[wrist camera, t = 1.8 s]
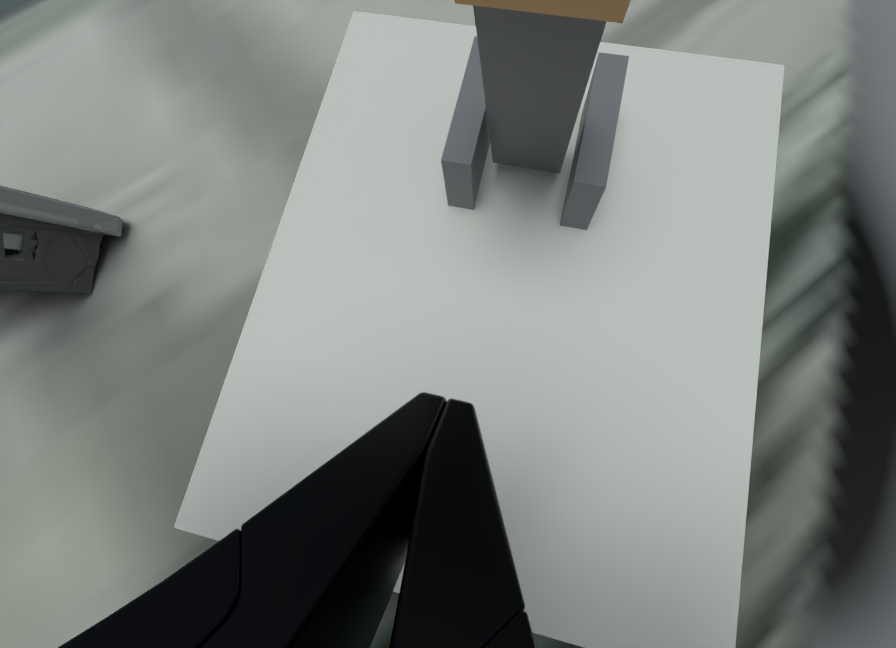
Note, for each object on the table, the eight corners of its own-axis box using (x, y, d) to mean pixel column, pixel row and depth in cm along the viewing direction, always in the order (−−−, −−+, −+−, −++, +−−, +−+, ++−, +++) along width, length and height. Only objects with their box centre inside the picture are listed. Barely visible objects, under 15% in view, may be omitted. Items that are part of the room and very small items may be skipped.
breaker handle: (565, 181, 18) (648, -48, 7) (485, 167, 18) (442, -68, 7) (576, 127, 18) (678, -190, 7) (495, 115, 18) (470, -202, 7)
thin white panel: (689, 649, 17) (796, 754, 11) (220, 515, 19) (105, 544, 13) (744, 116, 22) (837, -5, 16) (369, 63, 24) (332, -58, 18)
